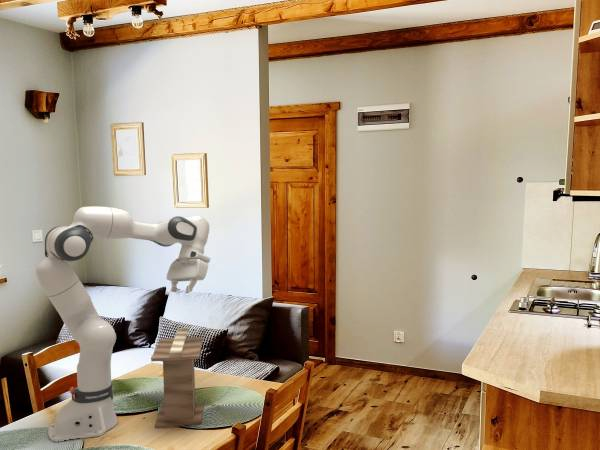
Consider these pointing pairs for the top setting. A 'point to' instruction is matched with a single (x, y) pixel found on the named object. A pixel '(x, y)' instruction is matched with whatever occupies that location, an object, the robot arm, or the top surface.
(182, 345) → the birch slat
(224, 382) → the top surface
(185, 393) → the walnut stand
